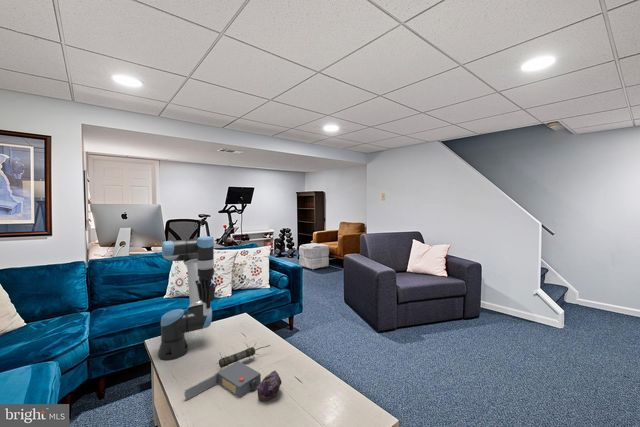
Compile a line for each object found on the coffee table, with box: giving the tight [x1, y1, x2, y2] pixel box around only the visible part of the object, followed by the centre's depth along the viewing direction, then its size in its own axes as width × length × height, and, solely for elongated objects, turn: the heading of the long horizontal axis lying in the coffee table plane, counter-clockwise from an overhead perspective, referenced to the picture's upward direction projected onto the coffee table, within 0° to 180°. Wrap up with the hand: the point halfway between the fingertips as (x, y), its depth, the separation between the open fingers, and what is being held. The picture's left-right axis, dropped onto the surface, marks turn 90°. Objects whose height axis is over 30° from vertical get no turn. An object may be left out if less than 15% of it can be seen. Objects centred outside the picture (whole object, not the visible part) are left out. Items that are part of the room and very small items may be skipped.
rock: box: [256, 370, 283, 402], centre depth 123 cm, size 12×9×10 cm
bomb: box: [215, 343, 271, 369], centre depth 148 cm, size 11×10×30 cm
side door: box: [183, 372, 219, 401], centre depth 125 cm, size 15×2×5 cm, turn 140°
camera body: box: [216, 360, 262, 399], centre depth 130 cm, size 19×12×6 cm, turn 53°
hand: (206, 314), depth 139 cm, fingers closed
